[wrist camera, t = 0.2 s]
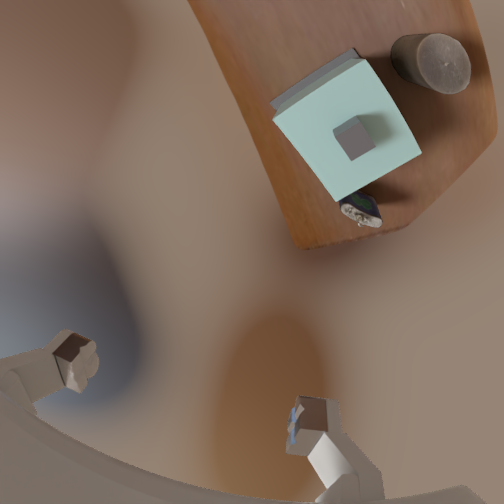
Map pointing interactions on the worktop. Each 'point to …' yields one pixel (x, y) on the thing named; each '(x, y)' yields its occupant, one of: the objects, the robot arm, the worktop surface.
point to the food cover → (347, 128)
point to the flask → (361, 209)
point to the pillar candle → (432, 62)
